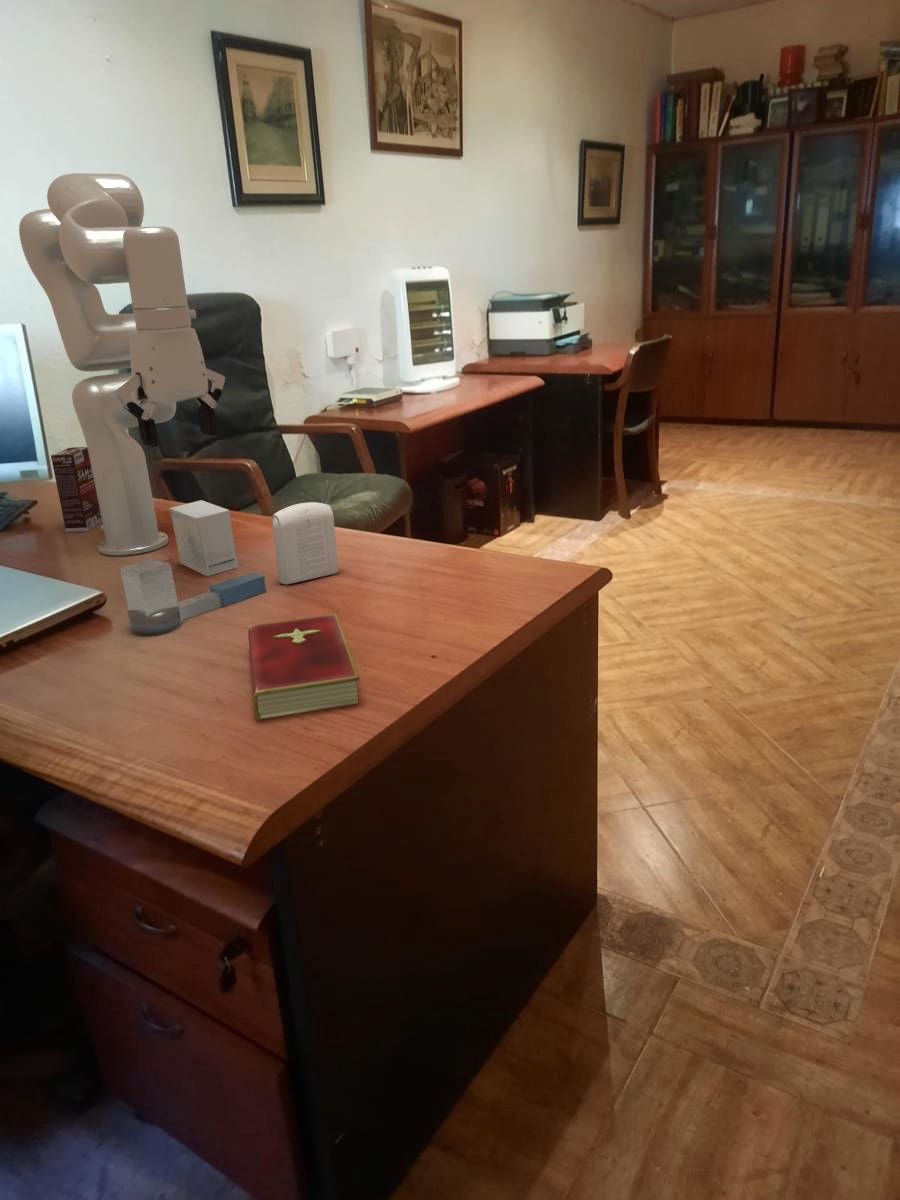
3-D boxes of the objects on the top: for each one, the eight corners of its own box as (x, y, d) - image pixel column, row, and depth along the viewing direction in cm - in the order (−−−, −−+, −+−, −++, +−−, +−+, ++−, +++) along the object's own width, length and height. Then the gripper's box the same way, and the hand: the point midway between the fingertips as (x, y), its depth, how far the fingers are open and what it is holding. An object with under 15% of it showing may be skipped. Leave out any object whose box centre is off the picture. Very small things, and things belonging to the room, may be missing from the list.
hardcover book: (256, 724, 99) (251, 690, 97) (250, 652, 118) (246, 623, 117) (362, 707, 101) (359, 674, 100) (339, 640, 121) (336, 611, 119)
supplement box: (88, 531, 179) (72, 454, 174) (65, 533, 179) (48, 455, 174) (104, 520, 187) (90, 446, 182) (82, 521, 187) (67, 447, 182)
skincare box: (178, 564, 155) (168, 506, 152) (211, 555, 159) (202, 499, 156) (205, 577, 148) (195, 516, 144) (239, 568, 152) (231, 508, 148)
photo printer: (331, 567, 149) (324, 496, 145) (343, 573, 146) (335, 500, 141) (274, 581, 144) (265, 507, 140) (285, 587, 141) (276, 512, 136)
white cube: (128, 610, 127) (120, 567, 124) (159, 599, 130) (151, 558, 128) (147, 617, 123) (138, 574, 121) (178, 606, 127) (170, 564, 125)
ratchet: (121, 629, 127) (113, 584, 125) (246, 585, 143) (241, 545, 140) (147, 639, 123) (139, 594, 121) (273, 593, 138) (268, 552, 136)
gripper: (201, 315, 134) (216, 427, 140) (92, 325, 122) (114, 447, 129) (229, 316, 129) (243, 433, 136) (118, 327, 118) (139, 453, 124)
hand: (180, 439), depth 132 cm, fingers open, 9 cm apart
